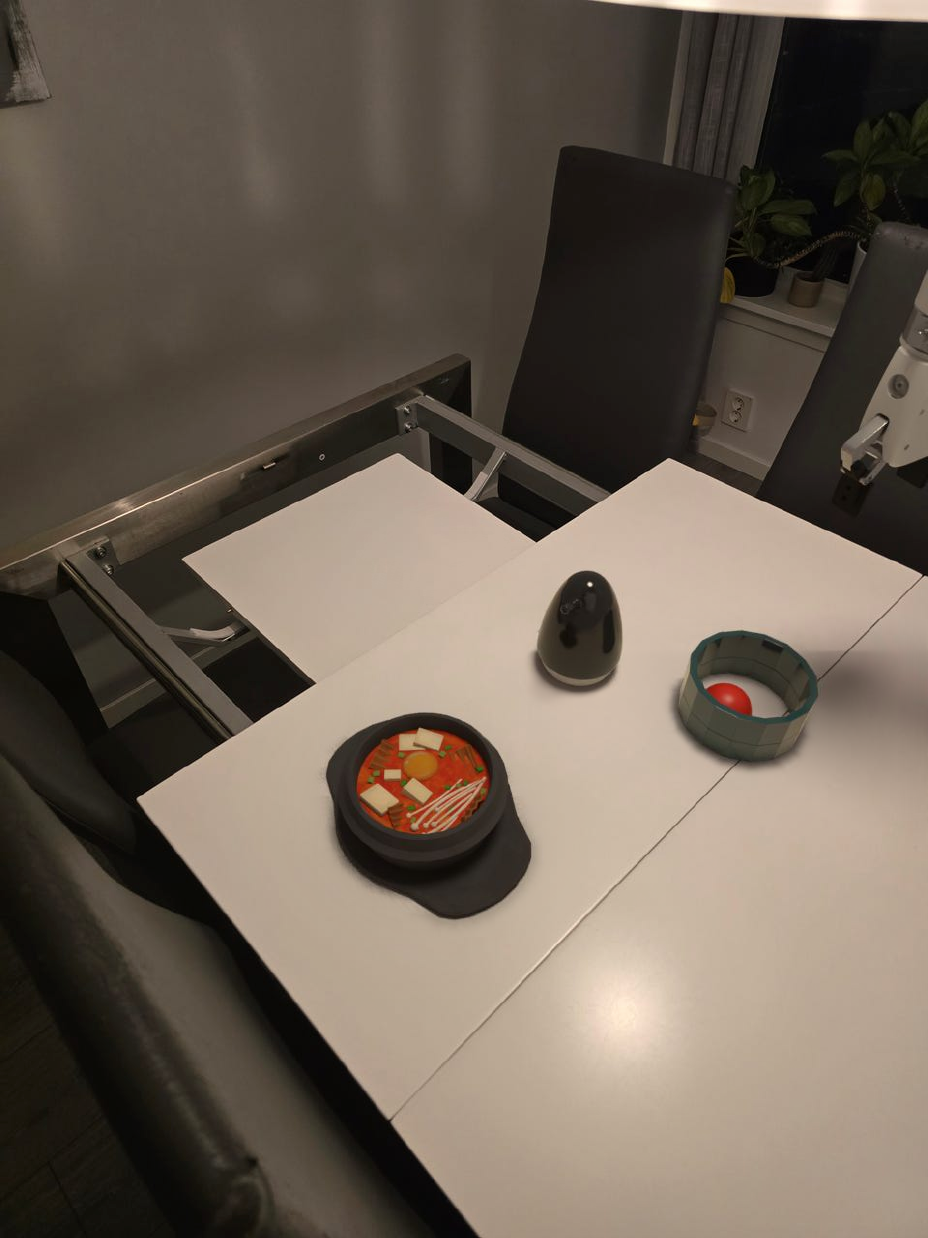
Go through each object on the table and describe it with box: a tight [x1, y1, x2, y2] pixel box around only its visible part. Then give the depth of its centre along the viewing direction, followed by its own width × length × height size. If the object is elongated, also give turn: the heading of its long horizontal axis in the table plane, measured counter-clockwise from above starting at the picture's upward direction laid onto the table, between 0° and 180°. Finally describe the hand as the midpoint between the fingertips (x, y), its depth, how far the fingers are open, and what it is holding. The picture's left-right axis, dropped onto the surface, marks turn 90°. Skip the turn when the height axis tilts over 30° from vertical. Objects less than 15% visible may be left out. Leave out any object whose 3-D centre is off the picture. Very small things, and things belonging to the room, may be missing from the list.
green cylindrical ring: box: [677, 629, 819, 762], centre depth 89 cm, size 14×14×8 cm
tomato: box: [705, 682, 754, 716], centre depth 88 cm, size 6×6×7 cm
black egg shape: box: [536, 569, 624, 687], centre depth 92 cm, size 10×10×15 cm
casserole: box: [325, 711, 532, 917], centre depth 80 cm, size 25×19×8 cm
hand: (878, 495), depth 79 cm, fingers open, 9 cm apart
